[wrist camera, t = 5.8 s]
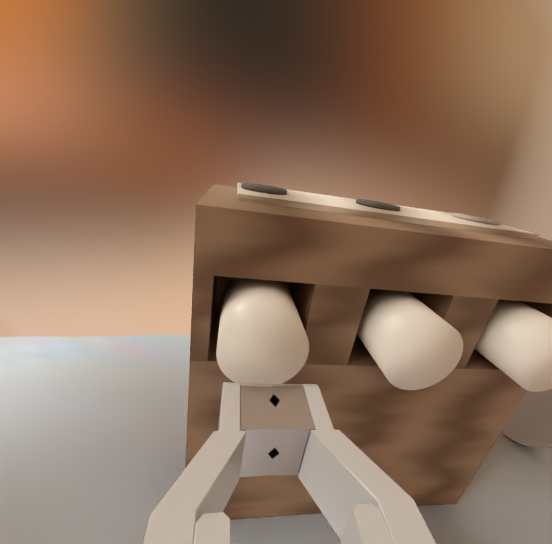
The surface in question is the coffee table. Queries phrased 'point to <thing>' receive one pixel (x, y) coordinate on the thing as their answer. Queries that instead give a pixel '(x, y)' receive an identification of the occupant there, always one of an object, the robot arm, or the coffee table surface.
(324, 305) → the console
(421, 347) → the button middle
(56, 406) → the coffee table surface
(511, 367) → the button
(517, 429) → the game controller
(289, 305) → the button
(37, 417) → the coffee table surface
